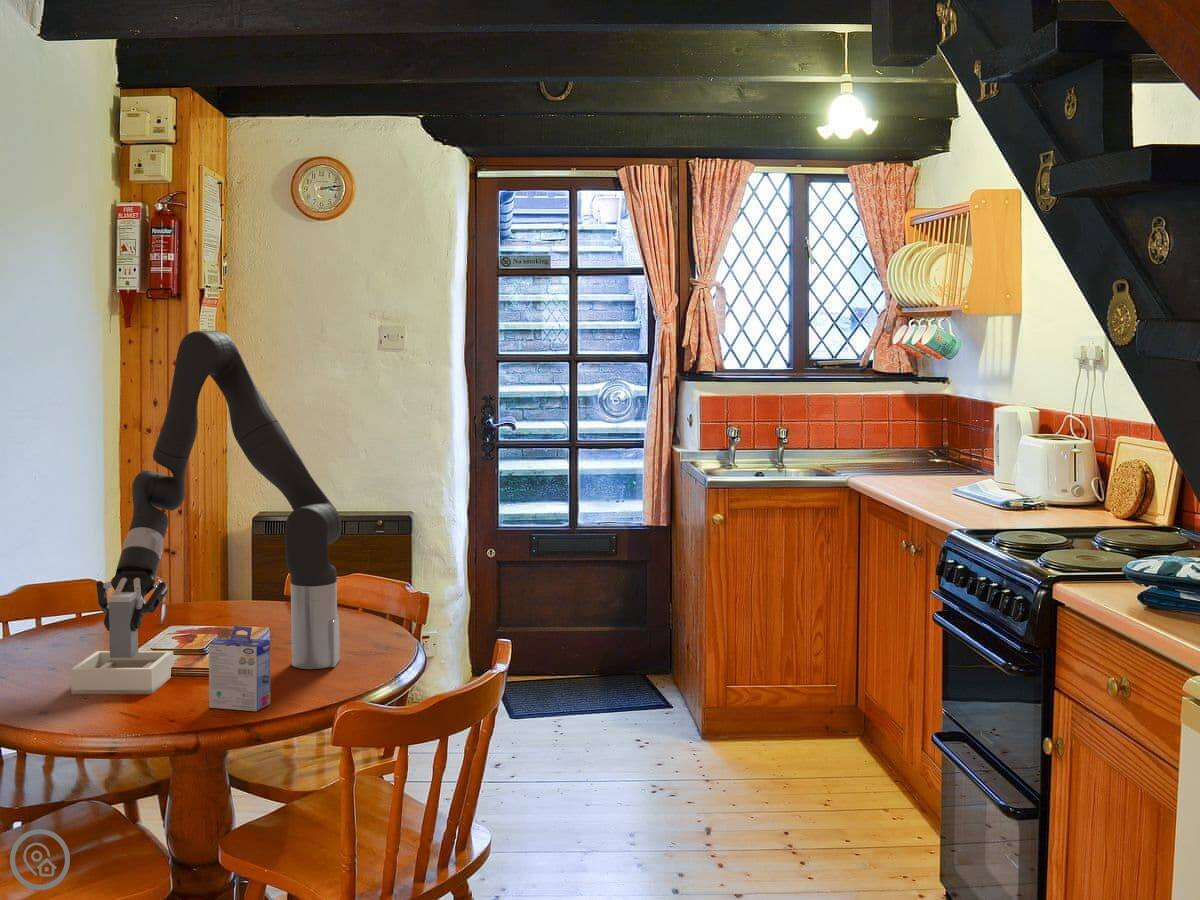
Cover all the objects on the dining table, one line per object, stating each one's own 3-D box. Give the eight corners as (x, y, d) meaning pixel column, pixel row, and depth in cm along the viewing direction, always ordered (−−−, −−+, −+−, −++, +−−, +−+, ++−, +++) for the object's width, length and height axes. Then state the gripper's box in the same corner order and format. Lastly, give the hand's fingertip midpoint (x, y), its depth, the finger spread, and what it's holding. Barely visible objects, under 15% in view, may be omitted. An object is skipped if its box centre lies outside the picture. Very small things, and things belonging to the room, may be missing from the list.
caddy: (173, 674, 240) (173, 651, 239) (152, 694, 227) (151, 669, 226) (97, 674, 239) (96, 651, 239) (71, 694, 226) (70, 669, 226)
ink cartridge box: (272, 703, 222) (271, 626, 220) (258, 712, 216) (256, 634, 215) (223, 699, 224) (222, 623, 222) (208, 708, 218) (206, 630, 217)
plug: (138, 652, 236) (136, 592, 234) (131, 657, 232) (129, 596, 230) (117, 652, 235) (116, 592, 234) (110, 657, 231) (108, 596, 230)
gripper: (100, 544, 239) (77, 618, 228) (172, 545, 240) (153, 619, 229) (110, 565, 245) (89, 638, 234) (180, 566, 245) (162, 639, 235)
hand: (121, 628), depth 231 cm, fingers closed on plug, 4 cm apart
